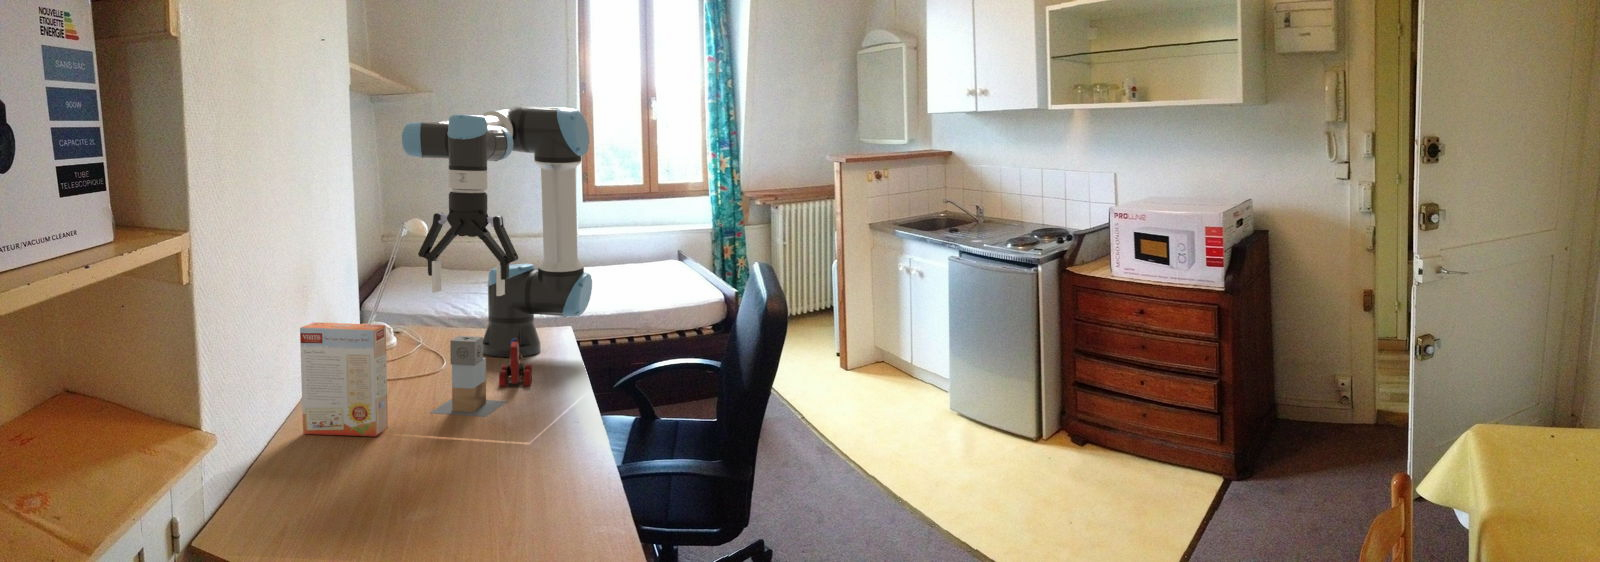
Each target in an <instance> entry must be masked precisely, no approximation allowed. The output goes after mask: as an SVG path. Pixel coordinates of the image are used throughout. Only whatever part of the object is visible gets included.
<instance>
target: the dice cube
mask: <svg viewBox="0 0 1600 562" xmlns="http://www.w3.org/2000/svg"><path fill="white" fill-rule="evenodd" d="M483 338H484V336H470V335H458V336H456V337H454V338H453V339H451V340H450V345H449V347H450V350H449V351H450V365H451V366H452V365H473V366H475V365H476V364H478V363H479V362H481V361H482V360H483V358H484V354H483Z"/></svg>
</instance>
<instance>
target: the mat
mask: <svg viewBox="0 0 1600 562" xmlns="http://www.w3.org/2000/svg"><path fill="white" fill-rule="evenodd" d="M506 403H508V400H496V399H495V400H494V399H493V400H492V399H486V404H484V405H483V406H481V407H480V408H478V409H477V410H475V411H474V412H464V411H452V398H451V399H449V400H448V401H446V402H445V403H443V404H441V405H440V406H438V407H436V408H434V409H433V410H432V411H430V412H429V414H435V415H436V414H437V415H452V416H465V417H466V416H470V417H483V418H486V417H488V416H489V415H491V414H492V413H493V412H495V411H496V410H498V409H499V408H500V407H502V406H503V405H505V404H506Z"/></svg>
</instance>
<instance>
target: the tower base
mask: <svg viewBox="0 0 1600 562" xmlns="http://www.w3.org/2000/svg"><path fill="white" fill-rule="evenodd" d="M451 399H452V411H464V412H474V411H475V410H477V409H478V408H480V407H481V406H483V405H484V404H486V400H487V380H486V381H484V382H483V383H481V384H480V385H478V386H476V387H475V388H473V389H470V388H454V387H452V386H451Z"/></svg>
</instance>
